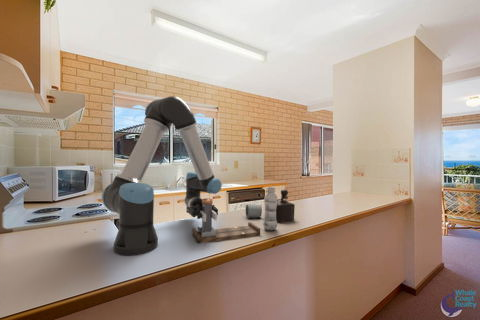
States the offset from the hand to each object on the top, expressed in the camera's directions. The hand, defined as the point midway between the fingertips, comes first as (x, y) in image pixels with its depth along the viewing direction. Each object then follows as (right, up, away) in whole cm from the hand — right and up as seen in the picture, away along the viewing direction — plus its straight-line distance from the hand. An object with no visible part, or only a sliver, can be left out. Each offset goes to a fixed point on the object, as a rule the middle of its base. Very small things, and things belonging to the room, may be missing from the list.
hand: (210, 217), depth 91 cm
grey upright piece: (-2, -8, +5) cm, 10 cm away
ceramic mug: (+19, -10, +40) cm, 46 cm away
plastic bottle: (+26, -10, +18) cm, 33 cm away
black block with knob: (+35, -10, +34) cm, 50 cm away
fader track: (+6, -10, +9) cm, 14 cm away
